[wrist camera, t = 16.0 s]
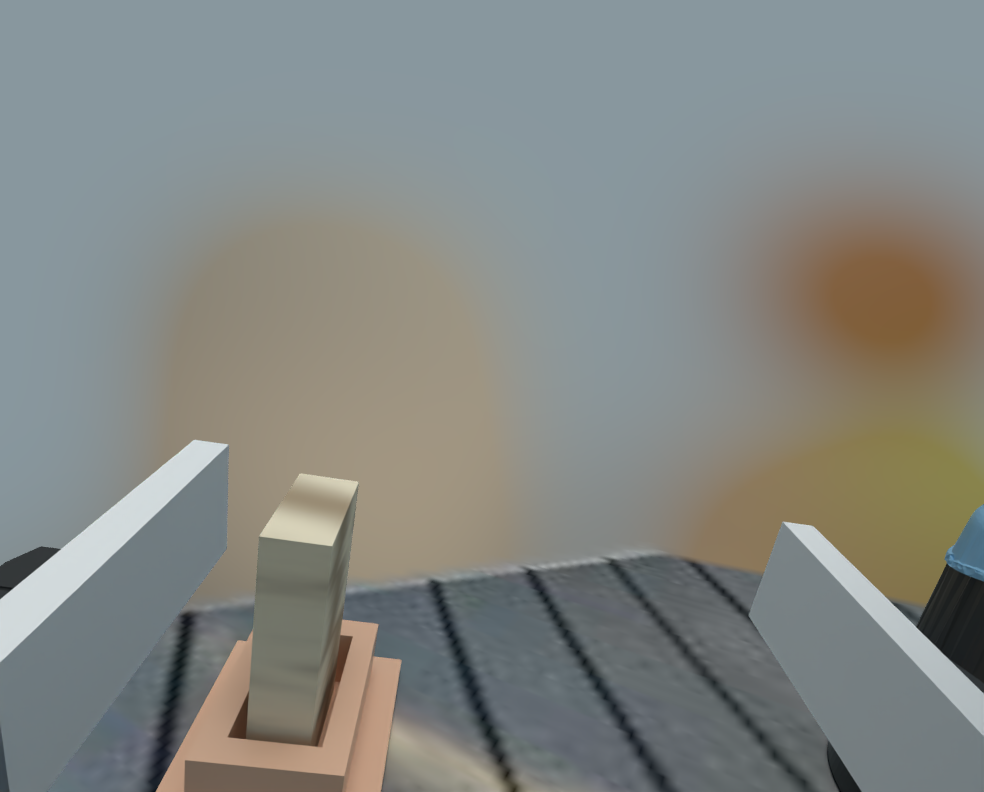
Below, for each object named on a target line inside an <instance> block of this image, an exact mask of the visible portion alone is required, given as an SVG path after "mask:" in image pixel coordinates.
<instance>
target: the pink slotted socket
mask: <svg viewBox="0 0 984 792" xmlns="http://www.w3.org/2000/svg"><path fill="white" fill-rule="evenodd" d="M377 631H378V624H373V623H365V622H357V621H349V620H342V626H341V634H340V643H339V651H338V659H337V667H336V676H335V684H334V691H333V695H332V698H331V702H330V705H329V709H328V712H327V716H326V719H325V723H324V726H323V730H322V733H321V737H320V740H319V744H318V747H314V746H305V745H295V744H286V743H276V742H267V741H257V740H248V739H246V730H247V715H248V700H249V685H250V669H251V654H252V639H253V630H252V632H251V634H250V636H249V638H248V640H247V641H237V643H236V645H235V647H234V649H233V650H232V652H231V654H230V656H229V658H228V660H227V661H226V663H225V665H224V667H223V669H222V671H221V673H220V674H219V676H218V678H217V680H216V682H215V684H214V685H213V687H212V689H211V691H210V693H209V695H208V697H207V698H206V700H205V702H204V704H203V706H202V708H201V709H200V711H199V713H198V715H197V717H196V719H195V720H194V722H193V724H192V726H191V728H190V730H189V732H188V733H187V735H186V737H185V739H184V741H183V743H182V744H181V746H180V748H179V750H178V752H177V754H176V756H175V757H174V759H173V761H172V763H171V765H170V767H169V768H168V770H167V772H166V774H165V776H164V778H163V780H162V781H161V783H160V785H159V787H158V789H157V791H156V792H381V788H382V781H383V775H384V768H385V762H386V756H387V749H388V743H389V736H390V730H391V724H392V717H393V711H394V704H395V698H396V691H397V685H398V679H399V672H400V666H401V660H398V659H390V658H381V657H374V652H375V645H376V638H377Z"/></svg>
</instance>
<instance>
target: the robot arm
mask: <svg viewBox="0 0 984 792" xmlns="http://www.w3.org/2000/svg"><path fill="white" fill-rule="evenodd" d="M228 457H229V445H227V444H220V443H212V442H206V441H198V440H194V441H192V442H191V443H190V444H189V445H187V446H186V447H185V448H184V449H183V450H181V451H180V452H179V453H178V454H176V455H175V456H174V457H173V458H172V459H170V460H169V461H168V462H167V463H165V464H164V465H163V466H162V467H161V468H159V469H158V470H157V471H156V472H155V473H153V474H152V475H151V476H150V477H148V478H147V479H146V480H145V481H144V482H142V483H141V484H140V485H139V486H138V487H136V488H135V489H134V490H133V491H131V492H130V493H129V494H128V495H127V496H125V497H124V498H123V499H122V500H121V501H119V502H118V503H117V504H116V505H114V506H113V507H112V508H111V509H110V510H108V511H107V512H106V513H105V514H103V515H102V516H101V517H100V518H99V519H97V520H96V521H95V522H94V523H93V524H91V525H90V526H89V527H88V528H86V529H85V530H84V531H83V532H82V533H80V534H79V535H78V536H77V537H75V538H74V539H73V540H72V541H71V542H69V543H68V544H67V545H66V546H65V547H63V548H62V549H56V548H48V547H39V548H37V549H34V550H32V551H30V552H28V553H25V554H23V555H21V556H19V557H16V558H14V559H12V560H10V561H8V562H5V563H4V564H3V565H1V566H0V792H47V791H48V790H49V788H50V787H51V785H52V784H53V783H54V781H55V780H56V779H57V777H58V776H59V775H60V773H61V772H62V771H63V769H64V768H65V767H66V765H67V764H68V763H69V761H70V760H71V758H72V757H73V756H74V754H75V753H76V752H77V750H78V749H79V748H80V746H81V745H82V744H83V742H84V741H85V740H86V738H87V737H88V735H89V734H90V733H91V731H92V730H93V729H94V727H95V726H96V725H97V723H98V722H99V721H100V719H101V718H102V717H103V715H104V714H105V713H106V711H107V710H108V708H109V707H110V706H111V704H112V703H113V702H114V700H115V699H116V698H117V696H118V695H119V694H120V692H121V691H122V690H123V688H124V687H125V686H126V684H127V683H128V681H129V680H130V679H131V677H132V676H133V675H134V673H135V672H136V671H137V669H138V668H139V667H140V665H141V664H142V663H143V661H144V660H145V659H146V657H147V656H148V654H149V653H150V652H151V650H152V649H153V648H154V646H155V645H156V644H157V642H158V641H159V640H160V638H161V637H162V636H163V634H164V633H165V631H166V630H167V629H168V627H169V626H170V625H171V623H172V622H173V621H174V619H175V618H176V617H177V615H178V614H179V613H180V611H181V610H182V609H183V607H184V606H185V604H186V603H187V602H188V600H189V599H190V598H191V596H192V595H193V594H194V592H195V591H196V589H197V588H198V587H199V586H200V584H201V583H202V582H203V580H204V579H205V577H206V576H207V575H208V573H209V572H210V571H211V569H212V568H213V567H214V565H215V564H216V563H217V561H218V560H219V558H220V557H221V556H222V554H223V553H224V552H225V550H226V549H227V507H228V506H227V505H228ZM945 560H946V561H947V564H946V567H945V569H944V571H943V573H942V575H941V577H940V579H939V581H938V583H937V585H936V587H935V589H934V591H933V593H932V595H931V597H930V599H929V601H928V603H927V605H926V607H925V609H924V611H923V613H922V615H921V617H920V619H919V621H918V623H917V625H916V627H915V626H914V625H913V624H912V623H911V622H910V621H909V620H908V619H907V618H906V617H905V616H904V615H903V614H902V613H901V612H900V611H899V610H898V609H897V608H896V607H895V606H894V605H893V604H892V603H891V602H890V601H889V600H888V599H887V598H886V597H885V596H884V595H883V594H882V593H881V592H880V591H879V590H878V589H877V588H876V587H874V585H873V584H871V583H870V582H869V581H868V580H867V579H866V578H865V577H864V576H863V575H862V574H861V573H860V572H859V571H858V570H857V569H856V568H855V567H854V566H853V565H852V564H851V563H850V562H849V561H848V560H847V559H846V558H845V557H844V556H843V555H842V554H841V553H840V552H839V551H838V550H837V549H836V548H835V547H834V546H833V545H832V544H831V543H830V542H829V541H828V540H827V539H826V538H825V537H824V536H823V535H822V534H821V533H819V531H818V530H816V529H815V528H814V527H813V526H808V525H802V524H794V523H788V522H783V523H782V525H781V528H780V531H779V533H778V536H777V539H776V542H775V544H774V547H773V550H772V553H771V555H770V558H769V561H768V564H767V566H766V569H765V572H764V575H763V577H762V580H761V583H760V586H759V588H758V591H757V594H756V597H755V599H754V602H753V605H752V608H751V610H750V613H749V617H750V618H751V620H752V622H753V623H754V625H755V626H756V628H757V629H758V631H759V633H760V634H761V636H762V637H763V639H764V640H765V642H766V643H767V645H768V647H769V648H770V650H771V651H772V653H773V654H774V656H775V657H776V659H777V661H778V662H779V664H780V665H781V667H782V668H783V670H784V671H785V673H786V675H787V676H788V678H789V679H790V681H791V682H792V684H793V685H794V687H795V689H796V690H797V692H798V693H799V695H800V696H801V698H802V699H803V701H804V703H805V704H806V706H807V707H808V709H809V710H810V712H811V713H812V715H813V717H814V718H815V720H816V721H817V723H818V724H819V726H820V727H821V729H822V731H823V732H824V734H825V735H826V737H827V738H828V740H829V742H828V758H829V763H830V767H831V770H832V773H833V775H834V778H835V780H836V782H837V784H838V786H839V788H840V790H841V792H984V504H983V505H982V506H980V507H979V508H978V509H977V510H975V512H974V513H973V514H972V516H971V517H970V519H969V521H968V523H967V525H966V526H965V528H964V530H963V531H962V533H961V535H960V537H959V538H958V540H957V542H956V544H955V545H953V546H952V547H951V548H949V549H948V551H947V553H946V556H945Z"/></svg>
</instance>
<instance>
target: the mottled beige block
mask: <svg viewBox="0 0 984 792" xmlns="http://www.w3.org/2000/svg"><path fill="white" fill-rule="evenodd" d="M358 485H359V482H356V481H349V480H342V479H335V478H328V477H321V476H314V475H308V474H301V473H300V474H299V476H298V477H297V479H296V481H295V482H294V484H293V485H292V487H291V488H290V490H289V491H288V493H287V495H286V496H285V498H284V499H283V501H282V502H281V504H280V505H279V507H278V508H277V510H276V511H275V513H274V514H273V516H272V517H271V519H270V521H269V522H268V524H267V525H266V527H265V528H264V530H263V531H262V533H261V535H260V536H259V548H258V563H257V578H256V593H255V608H254V623H253V639H252V654H251V669H250V685H249V700H248V715H247V730H246V739H248V740H257V741H267V742H276V743H286V744H295V745H305V746H314V747H318V744H319V740H320V737H321V733H322V730H323V726H324V723H325V719H326V716H327V712H328V709H329V705H330V702H331V698H332V695H333V691H334V684H335V676H336V667H337V659H338V651H339V643H340V634H341V626H342V618H343V609H344V601H345V593H346V584H347V576H348V567H349V560H350V551H351V543H352V534H353V526H354V518H355V510H356V501H357V492H358Z"/></svg>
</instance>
